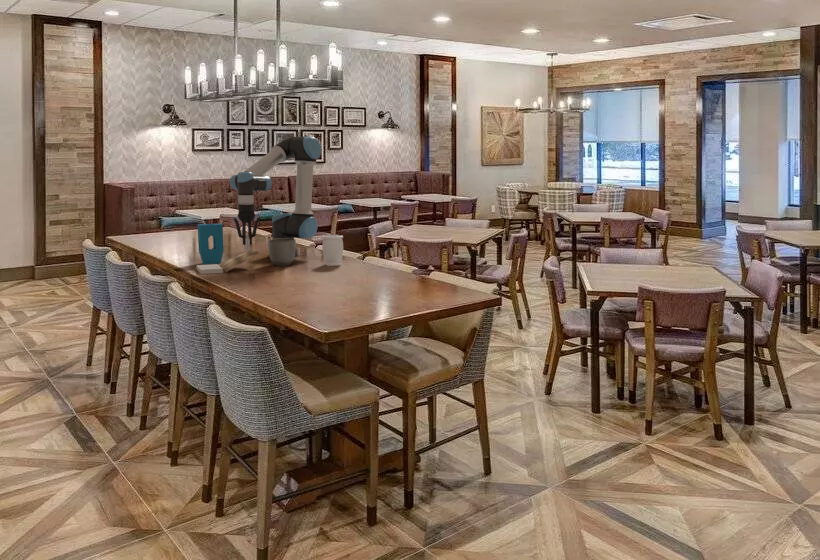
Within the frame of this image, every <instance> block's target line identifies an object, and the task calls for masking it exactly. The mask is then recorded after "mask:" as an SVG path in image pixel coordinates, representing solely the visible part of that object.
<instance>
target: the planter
mask: <svg viewBox="0 0 820 560" xmlns="http://www.w3.org/2000/svg"><path fill="white" fill-rule="evenodd" d="M296 242H297V241H296V238H294V239H290V238H276V239H273V238H270V239H268V240H267V247H268V255H269V259H270V261H271V262H272V263H273V264H274V266H276V267H288V266H290V265H291V263H293V261H294V260H295V257H296V256H295V247H296V248H297V246H296V245H297V244H296Z"/></svg>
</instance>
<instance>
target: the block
mask: <svg viewBox="0 0 820 560" xmlns="http://www.w3.org/2000/svg"><path fill="white" fill-rule="evenodd" d="M210 237H212V242H213V244H212V245H213V246H212V248H210V247H209V239H210ZM197 241H198V242H197V243H198V253H199V256H200V258H201V259H200V260H201V262H202V265H211V264H218V265H219V264H221V263H222V259H223V255H224V251H225V250H224V249H225V248H224V246H225V245H224V224H222V223H205V224H204V223H202V224H201V223H200V224H197Z"/></svg>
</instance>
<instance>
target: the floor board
mask: <svg viewBox="0 0 820 560" xmlns="http://www.w3.org/2000/svg"><path fill="white" fill-rule="evenodd" d="M196 271H198V273H199V274H200V275H206V274H207V275H209V274H223V273H224V274H225V271H224V270H223V269H222V268H221V267H220V266H219V263H218V264H197V265H196Z"/></svg>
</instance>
